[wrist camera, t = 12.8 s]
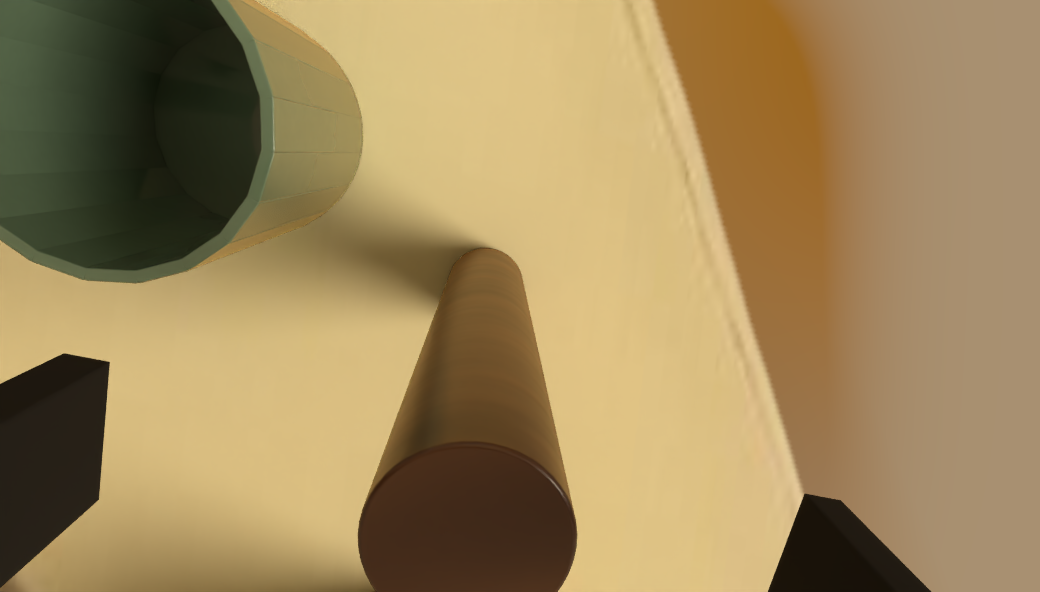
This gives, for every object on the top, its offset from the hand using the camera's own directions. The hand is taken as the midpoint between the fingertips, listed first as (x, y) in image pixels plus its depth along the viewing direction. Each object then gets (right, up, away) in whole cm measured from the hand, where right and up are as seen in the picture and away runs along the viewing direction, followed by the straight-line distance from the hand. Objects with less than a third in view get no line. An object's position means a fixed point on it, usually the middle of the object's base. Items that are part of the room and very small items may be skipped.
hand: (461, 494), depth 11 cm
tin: (-11, +12, +17) cm, 24 cm away
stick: (-1, +4, +19) cm, 20 cm away
